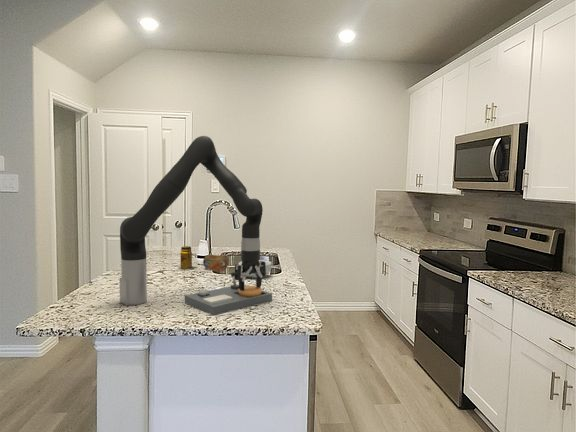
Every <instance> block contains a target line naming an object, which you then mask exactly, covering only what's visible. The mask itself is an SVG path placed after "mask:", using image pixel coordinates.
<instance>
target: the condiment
mask: <svg viewBox="0 0 576 432" xmlns="http://www.w3.org/2000/svg"><path fill="white" fill-rule="evenodd" d="M180 248H181V249H180V267H179V268H178V270H186V271H187V270H188V271H190V270H193V269H195V268H197V266H193V251H192V247H191V246H188V245H187V246H186V245H185V246H182V247H180Z"/></svg>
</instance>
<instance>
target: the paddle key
mask: <svg viewBox="0 0 576 432" xmlns="http://www.w3.org/2000/svg"><path fill="white" fill-rule="evenodd" d="M229 300H233V297H230V296H227V295H225V294H224V295H219V296H214V297H209V298H205V299H203V302H205V303H208V304H216V303H220V302H225V301H229Z"/></svg>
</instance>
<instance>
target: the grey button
mask: <svg viewBox="0 0 576 432" xmlns="http://www.w3.org/2000/svg"><path fill="white" fill-rule="evenodd" d="M208 291H209V290H207V289H199V290H198V293H199V296H207V295H208Z"/></svg>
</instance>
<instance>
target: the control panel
mask: <svg viewBox="0 0 576 432" xmlns="http://www.w3.org/2000/svg"><path fill="white" fill-rule="evenodd" d="M244 286H247V285H245V284H244ZM224 294H225V295H227V296H230V297H233V300H229V301H225V302H220V303H216V304H208V303H205V302H203V299H205V298H209V297H214V296H219V295H224ZM269 302H273V293H271V292H268V291H265V290H262V295H259V296H255V297H250V298H247V297H244V296H241V295H239V284H236V285H234V284H232V285H230V286H227V287H222V288H216V289H211V290H208V295H207V296H199V292H195V293H189V294H185V295H184V304H186V305H188V306H191V307H194V308H196V309H198V310H200V311H202V310H203V311H202V312H205V313H207V312H208V314H209V313H210V314H209V315H213V316H215V315H220V314H224V313H227V312H232V311H235V310H236V311H237V310H239V309H240V310H241V309H245V308H248V307H252V306H256V305H260V304H265V303H269Z"/></svg>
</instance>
